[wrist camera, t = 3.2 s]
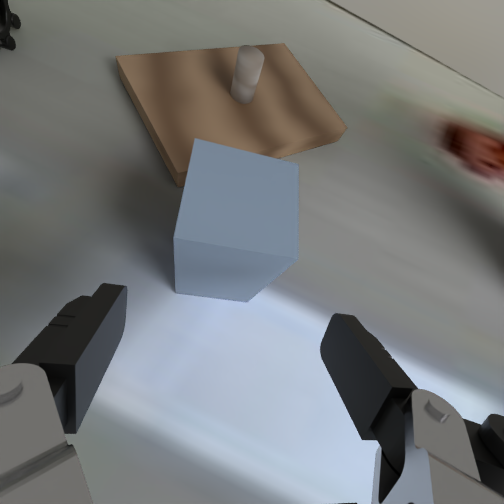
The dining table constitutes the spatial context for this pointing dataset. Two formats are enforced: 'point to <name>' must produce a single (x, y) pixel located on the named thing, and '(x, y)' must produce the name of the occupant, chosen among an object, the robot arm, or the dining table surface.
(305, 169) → the dining table surface
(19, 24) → the valve
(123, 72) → the post plate
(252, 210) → the block
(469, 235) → the dining table surface
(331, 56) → the dining table surface
